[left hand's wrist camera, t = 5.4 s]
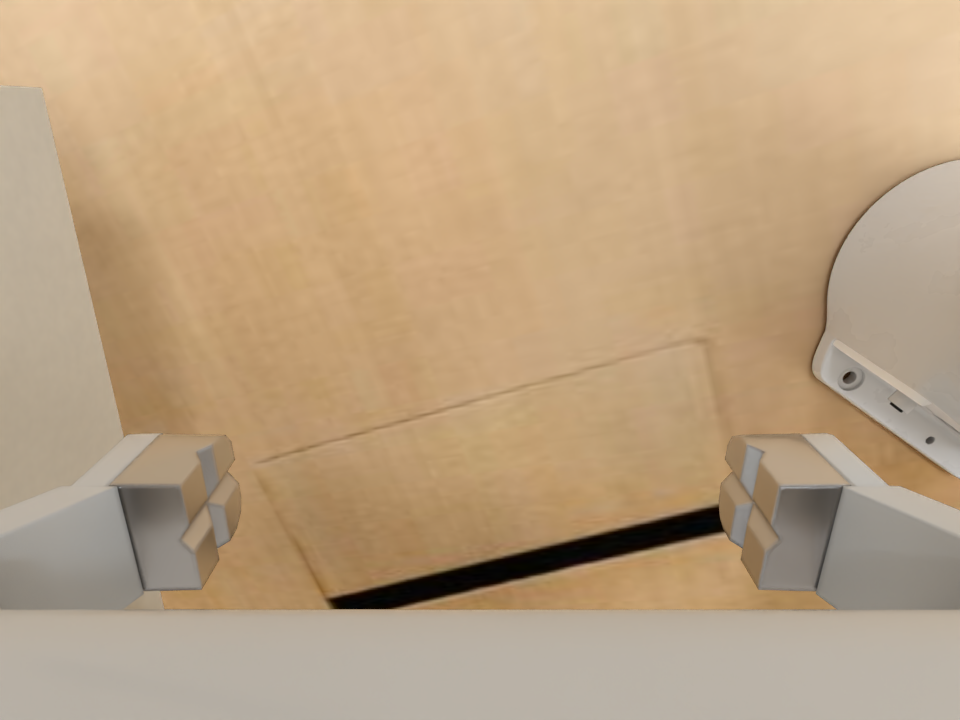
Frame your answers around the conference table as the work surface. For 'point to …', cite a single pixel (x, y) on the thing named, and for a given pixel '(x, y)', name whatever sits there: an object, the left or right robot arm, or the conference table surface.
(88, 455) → the bar
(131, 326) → the conference table surface
